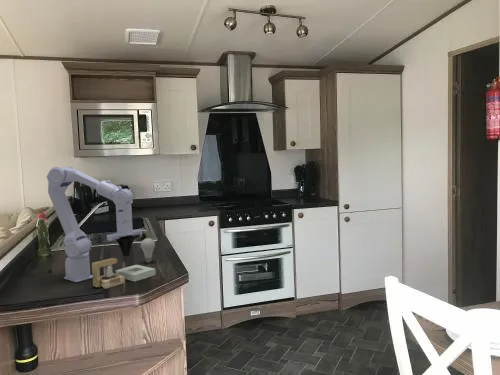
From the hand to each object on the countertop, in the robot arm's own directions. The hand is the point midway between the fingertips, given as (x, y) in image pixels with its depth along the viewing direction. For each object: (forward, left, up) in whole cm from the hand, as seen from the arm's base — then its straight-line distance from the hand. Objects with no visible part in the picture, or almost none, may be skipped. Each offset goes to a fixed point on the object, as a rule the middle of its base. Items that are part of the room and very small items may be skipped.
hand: (126, 255), depth 152 cm
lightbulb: (-12, +20, -9) cm, 25 cm away
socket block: (0, -8, -9) cm, 12 cm away
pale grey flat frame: (0, +4, -9) cm, 10 cm away
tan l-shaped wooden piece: (0, -9, -8) cm, 12 cm away
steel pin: (0, -8, -9) cm, 12 cm away
